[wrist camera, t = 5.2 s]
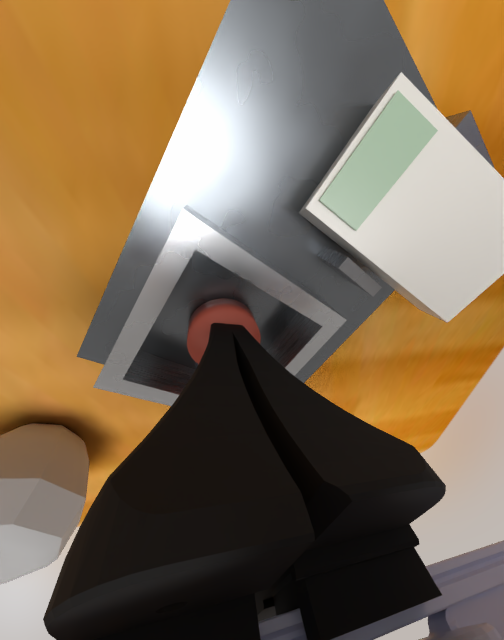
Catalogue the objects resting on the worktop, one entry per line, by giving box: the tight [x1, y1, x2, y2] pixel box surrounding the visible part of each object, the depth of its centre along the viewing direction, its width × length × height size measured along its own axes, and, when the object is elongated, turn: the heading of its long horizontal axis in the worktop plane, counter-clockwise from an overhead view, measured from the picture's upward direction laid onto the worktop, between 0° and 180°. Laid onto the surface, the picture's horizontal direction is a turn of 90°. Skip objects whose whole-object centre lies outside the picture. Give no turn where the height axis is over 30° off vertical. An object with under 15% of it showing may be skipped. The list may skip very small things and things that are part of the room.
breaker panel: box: [77, 0, 495, 406], centre depth 10 cm, size 12×16×4 cm
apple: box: [0, 423, 89, 584], centre depth 12 cm, size 8×8×7 cm
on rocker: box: [299, 72, 504, 323], centre depth 8 cm, size 7×4×2 cm, turn 55°
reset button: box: [187, 298, 261, 364], centre depth 10 cm, size 3×3×1 cm
